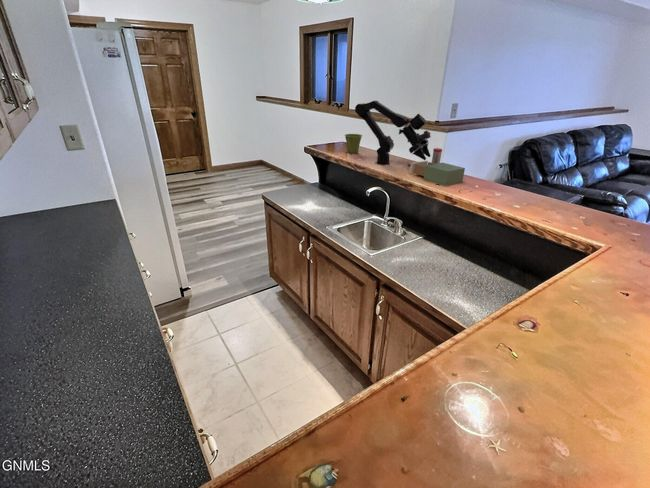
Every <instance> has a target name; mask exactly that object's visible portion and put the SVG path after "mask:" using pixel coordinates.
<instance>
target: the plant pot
mask: <svg viewBox="0 0 650 488" xmlns="http://www.w3.org/2000/svg"><path fill="white" fill-rule="evenodd" d="M344 137H345V138H344V139H345V142H346V143H345V144H346V152H347V153H349V154H357V153H359V149H360V145H361V140H362V137H363V134H359V133H345V134H344Z"/></svg>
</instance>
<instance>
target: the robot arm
mask: <svg viewBox="0 0 650 488" xmlns="http://www.w3.org/2000/svg"><path fill="white" fill-rule="evenodd" d="M354 107H355V108H354V111H355V114H357V116H358V117H360V118H361V119H363V120H364V122H365V123H366V125H367V126H368V127H369V129H370V130H371V132H372V134H373V135H374V136H375V137H376V139H377V141H378V146H379V147H378V148H377V149H376V154H377V155H376V156H377V158H376V161H375V162H374V163H375V164H376V165H377V164H378V165H381V166H382V165H383V166H386V165H389V164H390V153H391V151H392V150H393V149H394V147H395V143H394V140H393V138H392V137H391V136H390V135H385V133H384V132H383V130H382V129H381V127H380V126H379V125H378V122H376V120H375V119H374V117H373V116H372V114H371V110H375V111H376V112H378V113H380V114H381V115H382V116H384V117H386V118H387V119H389V120H390V121H391V123H392V124H393V125H394V126H395V127H396V128H399V129H398V135H402V134H403V135H404V136H405V138H406V141H407V143H409V144H410V145H411V147H409V148H408V152H409V153H410V154H412V155H414V156H417V157H418V158H420V159H421V160H422V161H427V157H428V158H430V157H432V156H431V153H430V150H429V148H428V146H429V140H428V139H430V138H432V136H431V132H430V131H429V130H425V131H423V133H421V134H420V133H417V132H416V131H419V130H420V129H421V128H423V127H424V126H425V125H426V124H427V120H426V119H425V118H424V116H422V115H421V114H420V113H417V114H416V115H415V116H414V117H413V118H412V119H410V118H408V117H407V116H406V115H403V114H400V113H397V112H395V111H393V110H391V109H390V108H389V107H387V106H386V105H384V104H382V103H381V102H379V100H372V101H370V102H366V103H365V102H363V103H357V104H356V105H355V106H354ZM426 156H427V157H426Z"/></svg>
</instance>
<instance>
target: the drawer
mask: <svg viewBox="0 0 650 488" xmlns="http://www.w3.org/2000/svg"><path fill="white" fill-rule="evenodd" d="M432 164H435V163H432V161H428V160H421V161H415V162H410V163H408V164H407V167H408V168H409V174H415V175H419V176H422V177H424V172H425V166H426V165H432Z"/></svg>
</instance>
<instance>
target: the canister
mask: <svg viewBox="0 0 650 488" xmlns="http://www.w3.org/2000/svg"><path fill="white" fill-rule="evenodd" d="M432 151H433V152H432V156H431V157H432V158H431V163H435V164H437V163H441V158H442V152H443V149H442V148H439V147H436V148H435V147H434V148H433V150H432Z"/></svg>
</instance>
